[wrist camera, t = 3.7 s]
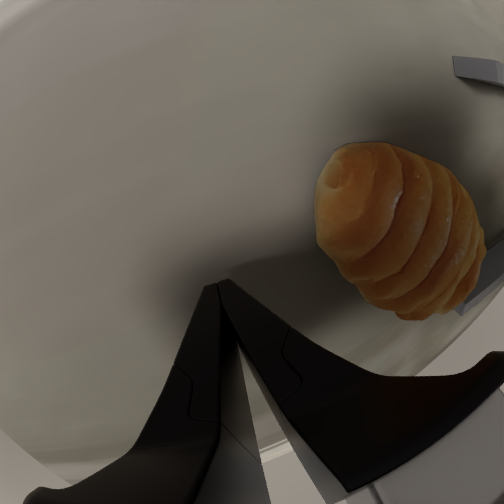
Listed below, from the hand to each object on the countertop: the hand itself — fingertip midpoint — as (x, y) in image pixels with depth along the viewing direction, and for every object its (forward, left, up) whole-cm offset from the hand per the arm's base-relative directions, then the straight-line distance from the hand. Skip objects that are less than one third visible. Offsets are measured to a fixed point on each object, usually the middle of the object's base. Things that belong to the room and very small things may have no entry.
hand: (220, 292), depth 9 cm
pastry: (-8, +1, -2) cm, 8 cm away
